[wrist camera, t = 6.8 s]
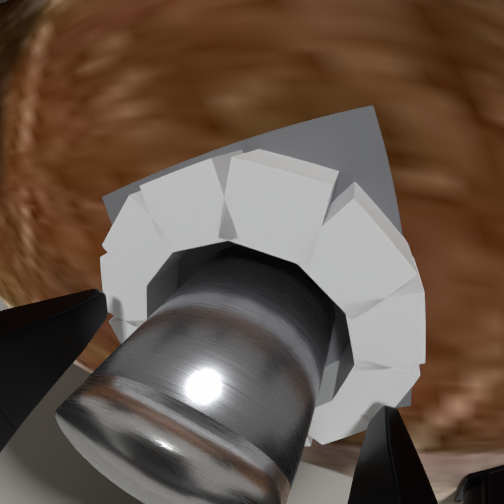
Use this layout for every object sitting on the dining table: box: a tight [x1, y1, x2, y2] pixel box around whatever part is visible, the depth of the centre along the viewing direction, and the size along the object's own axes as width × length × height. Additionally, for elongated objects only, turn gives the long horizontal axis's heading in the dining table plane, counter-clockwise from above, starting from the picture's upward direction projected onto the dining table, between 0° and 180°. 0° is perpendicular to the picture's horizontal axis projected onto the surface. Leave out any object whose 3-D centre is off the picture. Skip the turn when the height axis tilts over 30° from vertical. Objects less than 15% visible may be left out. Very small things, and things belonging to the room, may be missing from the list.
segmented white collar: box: [100, 105, 426, 446], centre depth 11 cm, size 11×10×6 cm
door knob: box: [55, 244, 335, 504], centre depth 8 cm, size 5×5×7 cm
